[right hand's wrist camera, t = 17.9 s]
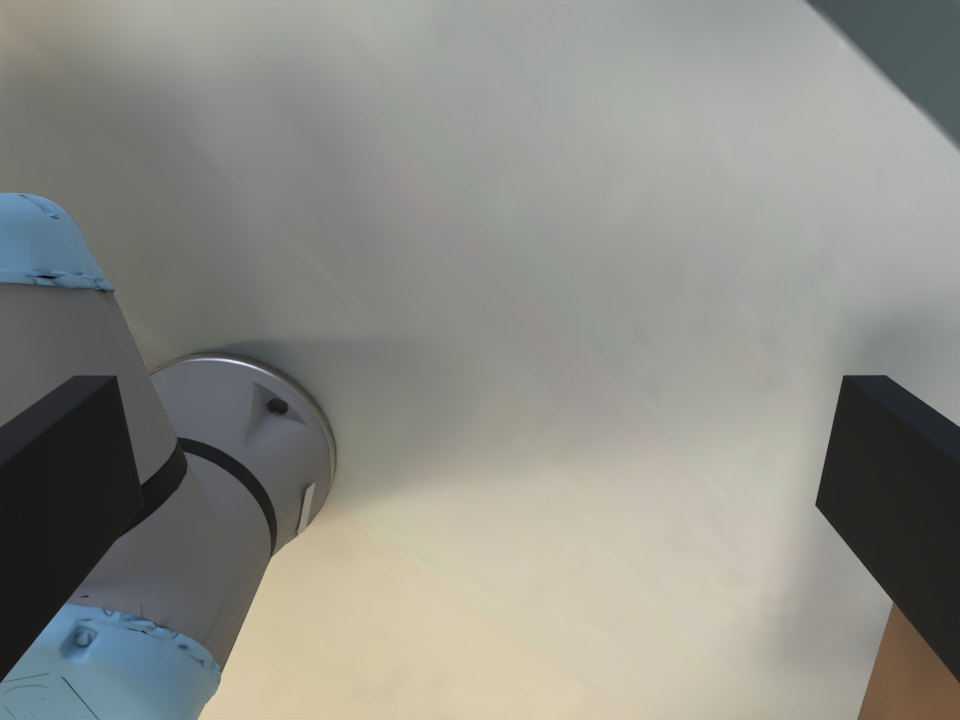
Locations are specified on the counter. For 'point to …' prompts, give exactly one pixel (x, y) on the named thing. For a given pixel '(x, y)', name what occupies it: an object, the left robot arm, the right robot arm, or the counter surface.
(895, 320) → the counter surface
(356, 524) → the counter surface
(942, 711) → the bar
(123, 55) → the counter surface
